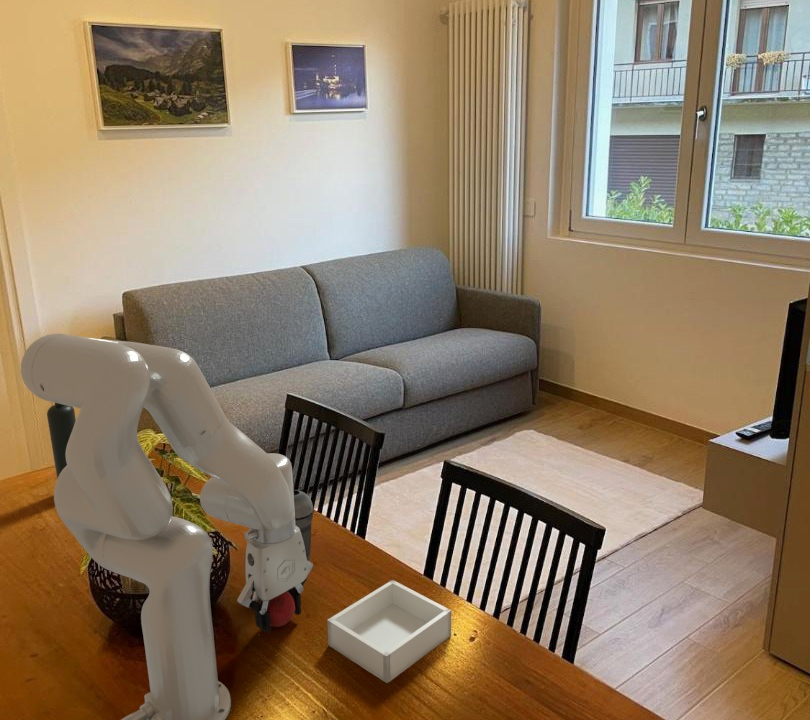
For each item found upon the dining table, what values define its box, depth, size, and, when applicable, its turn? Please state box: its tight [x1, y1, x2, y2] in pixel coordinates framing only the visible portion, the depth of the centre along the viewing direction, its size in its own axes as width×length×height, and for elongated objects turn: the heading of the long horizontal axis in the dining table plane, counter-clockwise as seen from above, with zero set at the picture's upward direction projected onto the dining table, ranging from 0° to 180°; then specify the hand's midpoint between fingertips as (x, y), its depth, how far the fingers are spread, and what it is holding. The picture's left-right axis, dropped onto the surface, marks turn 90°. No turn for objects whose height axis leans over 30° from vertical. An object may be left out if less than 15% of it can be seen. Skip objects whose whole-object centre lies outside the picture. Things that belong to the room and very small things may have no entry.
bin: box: [326, 579, 452, 684], centre depth 130 cm, size 16×14×5 cm
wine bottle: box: [46, 403, 77, 480], centre depth 179 cm, size 6×6×30 cm
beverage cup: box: [293, 489, 315, 562], centre depth 151 cm, size 7×7×20 cm
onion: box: [267, 591, 295, 628], centre depth 134 cm, size 6×6×8 cm
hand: (279, 619), depth 135 cm, fingers closed on onion, 5 cm apart
